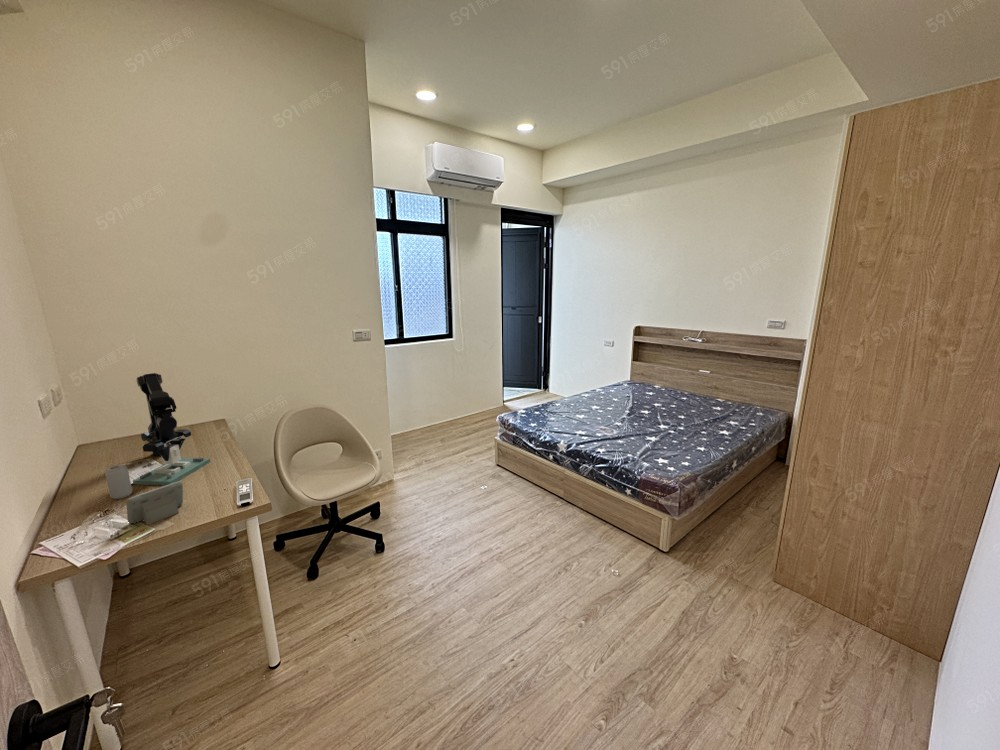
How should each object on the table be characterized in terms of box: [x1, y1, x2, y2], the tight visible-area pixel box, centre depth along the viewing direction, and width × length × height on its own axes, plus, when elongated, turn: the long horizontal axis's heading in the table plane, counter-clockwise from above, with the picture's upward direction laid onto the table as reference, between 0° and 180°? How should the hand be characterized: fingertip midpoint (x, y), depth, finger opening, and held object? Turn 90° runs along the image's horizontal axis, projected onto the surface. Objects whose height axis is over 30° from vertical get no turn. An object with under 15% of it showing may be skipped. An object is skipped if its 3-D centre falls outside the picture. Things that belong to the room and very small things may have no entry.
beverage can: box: [104, 464, 134, 500], centre depth 156 cm, size 6×6×12 cm
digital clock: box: [126, 480, 184, 525], centre depth 143 cm, size 16×9×11 cm, turn 137°
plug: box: [160, 443, 182, 465], centre depth 175 cm, size 4×6×7 cm
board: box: [132, 457, 211, 486], centre depth 176 cm, size 22×16×3 cm
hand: (171, 458), depth 175 cm, fingers closed on plug, 4 cm apart
